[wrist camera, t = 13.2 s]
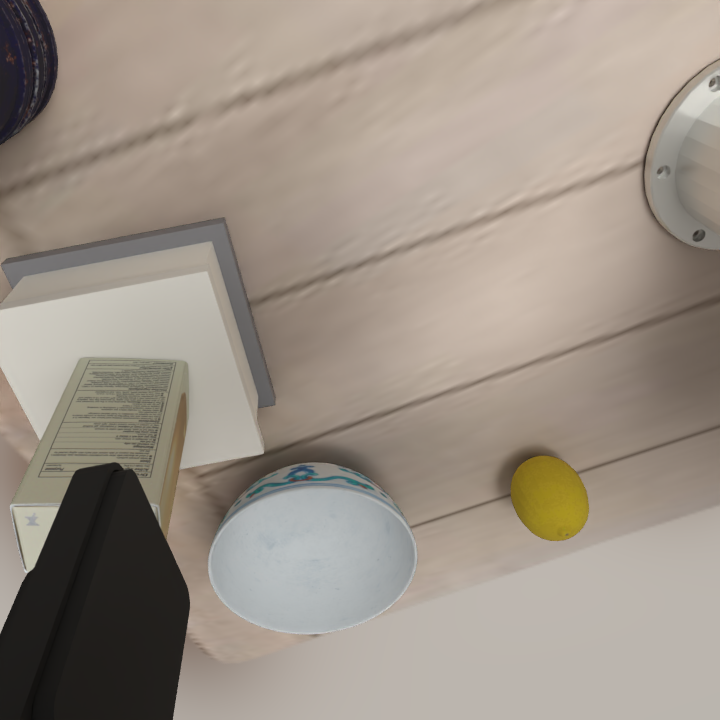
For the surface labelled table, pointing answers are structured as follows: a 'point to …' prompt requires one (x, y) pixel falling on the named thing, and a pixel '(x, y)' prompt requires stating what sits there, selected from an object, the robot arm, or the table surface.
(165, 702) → the robot arm
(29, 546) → the skincare box
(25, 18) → the dark blue barrel
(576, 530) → the lemon
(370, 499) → the chinaware
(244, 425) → the display podium
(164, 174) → the table surface
